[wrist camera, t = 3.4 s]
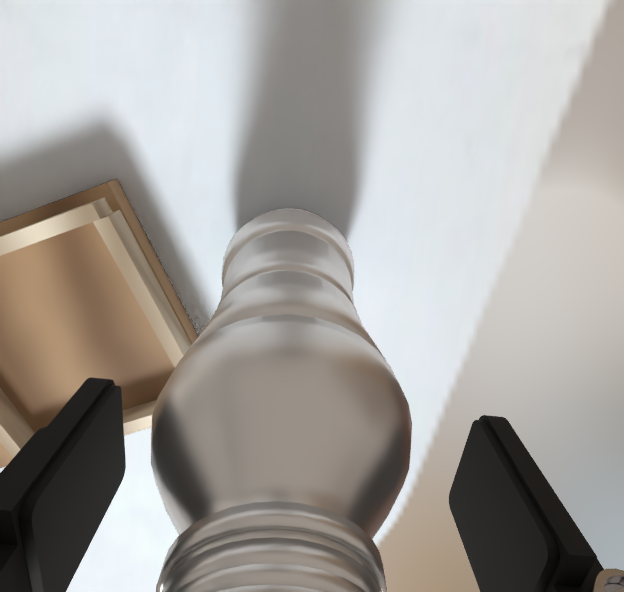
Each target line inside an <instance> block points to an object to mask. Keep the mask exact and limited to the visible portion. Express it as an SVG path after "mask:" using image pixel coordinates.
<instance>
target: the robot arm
mask: <svg viewBox="0 0 624 592" xmlns="http://www.w3.org/2000/svg"><path fill="white" fill-rule="evenodd" d="M124 473H125V446H124V428H123V410H122V392H121V387H120V386H116V385H115V383H114V380H112V379H103V378H93V377H90V378H88V379H87V380H86V381H85V382H84V383H83V384H82V385H81V387H80V388H79V389H78V390H77V391H76V393H75V394H74V395H73V396H72V397H71V398H70V400H69V401H68V402H67V403H66V404H65V406H64V407H63V408H62V409H61V410H60V412H59V413H58V414H57V415H56V416H55V418H54V419H53V420H52V421H51V422H50V424H49V425H48V426H47V427H42V428H40V429H39V430H38V431H37V432H36V433H34V435H33V436H32V437H31V438H30V439H29V440H28V442H27V443H26V444H25V445H24V446H23V447H22V449H21V450H20V451H19V452H18V453H17V454H16V456H15V457H14V458H13V459H12V460H11V461H10V463H9V464H8V465H7V466H6V467H5V468H4V470H3V471H2V472H1V473H0V592H66V590H67V588H68V586H69V584H70V582H71V580H72V578H73V576H74V574H75V572H76V570H77V568H78V566H79V564H80V562H81V560H82V559H83V557H84V555H85V553H86V551H87V549H88V547H89V545H90V543H91V541H92V539H93V537H94V535H95V533H96V531H97V529H98V527H99V525H100V523H101V521H102V519H103V517H104V515H105V513H106V511H107V509H108V507H109V505H110V503H111V501H112V499H113V497H114V495H115V494H116V492H117V490H118V488H119V486H120V484H121V482H122V479H123V477H124ZM449 505H450V509H451V512H452V515H453V517H454V520H455V523H456V526H457V528H458V531H459V534H460V537H461V539H462V542H463V545H464V548H465V550H466V553H467V556H468V559H469V561H470V564H471V567H472V570H473V572H474V575H475V578H476V580H477V583H478V586H479V589H480V592H624V571H623V570H619V569H605V570H604V569H603V567H602V566H601V564H600V563H599V561H598V559H597V556H596V554H595V553H594V552H593V550H592V548H591V547H590V545H589V544H588V542H587V541H586V539H585V538H584V536H583V535H582V533H581V532H580V530H579V529H578V527H577V526H576V524H575V522H574V521H573V520H572V518H571V516H570V515H569V513H568V512H567V510H566V509H565V507H564V506H563V504H562V503H561V501H560V500H559V498H558V497H557V495H556V494H555V492H554V490H553V489H552V487H551V486H550V484H549V483H548V481H547V480H546V478H545V477H544V475H543V474H542V472H541V471H540V469H539V468H538V466H537V465H536V463H535V462H534V460H533V458H532V457H531V456H530V454H529V452H528V451H527V449H526V448H525V447H524V445H523V443H522V442H521V440H520V439H519V437H518V436H517V434H516V433H515V431H514V429H513V428H512V426H511V425H510V423H509V422H508V420H506V418H503V417H496V416H485V415H484V416H481V417H480V418H479V420H475V421H474V422H473V424H472V427H471V430H470V433H469V436H468V439H467V442H466V445H465V448H464V451H463V454H462V457H461V460H460V463H459V466H458V469H457V472H456V475H455V478H454V482H453V484H452V487H451V490H450V494H449Z"/></svg>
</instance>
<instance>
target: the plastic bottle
mask: <svg viewBox="0 0 624 592" xmlns="http://www.w3.org/2000/svg"><path fill="white" fill-rule="evenodd" d="M222 285H223V291H222V296H221V301H220V303H219V305H218V308H217V310H216V311H215V313H214V315H213V317H212V319H211V321H210V323H209V324H208V325H207V327H206V328H205V329H204V330H203V332H202V333H201V334H200V336H199V337H198V338H197V339H196V341H195V342H194V343H193V345H192V346H191V347H190V348H189V350H188V351H187V352H186V354H185V355H184V356H183V357H182V358H181V359H180V361H179V363H178V364H177V366H176V368H175V369H174V371H173V373H172V374H171V376H170V378H169V379H168V381H167V383H166V385H165V386H164V388H163V389H162V391H161V393H160V394H159V396H158V399H157V402H156V405H155V408H154V412H153V415H152V432H151V465H152V469H153V474H154V478H155V482H156V485H157V487H158V490H159V493H160V495H161V498H162V501H163V504H164V506H165V509H166V512H167V513H168V515H169V517H170V519H171V521H172V523H173V525H174V527H175V528H176V530H177V532H178V534H179V536H178V538H177V539H176V540H175V542H174V543H173V544H172V546H171V547H170V548H169V550H168V553H167V556H166V558H165V561H164V564H163V567H162V570H161V573H160V577H159V580H158V583H157V586H156V592H386V591H387V587H386V581H385V575H384V569H383V563H382V560H381V556H380V552H379V550H378V548H377V547H376V545H375V543H374V542H373V540H372V539H373V537H374V536H375V534H376V533H377V532H378V530H379V529H380V527H381V526H382V524H383V523H384V521H385V519H386V518H387V516H388V515H389V513H390V511H391V509H392V507H393V505H394V503H395V501H396V499H397V497H398V495H399V493H400V491H401V489H402V487H403V485H404V482H405V479H406V476H407V473H408V470H409V463H410V450H411V432H412V420H411V415H410V410H409V404H408V402H407V400H406V397H405V395H404V393H403V391H402V389H401V387H400V385H399V383H398V381H397V379H396V377H395V375H394V373H393V371H392V369H391V367H390V365H389V364H388V363H387V362H386V360H385V358H384V357H383V355H382V354H381V352H380V351H379V349H378V348H377V346H376V345H375V343H374V342H373V340H372V339H371V337H370V336H369V334H368V333H367V331H366V330H365V328H364V327H363V325H362V323H361V320H360V318H359V316H358V314H357V311H356V309H355V307H354V302H353V292H352V291H353V287H354V261H353V256H352V252H351V250H350V247H349V245H348V243H347V241H346V240H345V238H344V237H343V236H342V234H341V233H340V231H339V230H337V229H336V228H335V227H334V226H333V225H332V224H331V223H329V222H328V221H326V220H325V219H323V218H321V217H320V216H318V215H316V214H314V213H311V212H308V211H306V210H301V209H294V208H285V209H277V210H272V211H268V212H266V213H264V214H262V215H259V216H257V217H255V218H254V219H252V220H251V221H249V222H248V223H247V224H245V225H244V226H242V227H241V229H240V230H239V231H238V232H237V233H236V234H235V235H234V236H233V238H232V240H231V241H230V243H229V245H228V246H227V249H226V252H225V255H224V259H223V269H222Z"/></svg>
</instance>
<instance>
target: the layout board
mask: <svg viewBox="0 0 624 592" xmlns="http://www.w3.org/2000/svg"><path fill="white" fill-rule="evenodd" d="M197 338H198V335H197V333H196V331H195V329H194V327H193V325H192V323H191V321H190V319H189V317H188V315H187V313H186V311H185V309H184V307H183V306H182V304H181V302H180V300H179V298H178V296H177V294H176V292H175V290H174V288H173V286H172V284H171V282H170V280H169V278H168V276H167V274H166V273H165V271H164V269H163V267H162V265H161V263H160V261H159V259H158V257H157V255H156V253H155V251H154V249H153V247H152V245H151V243H150V242H149V240H148V238H147V236H146V234H145V232H144V230H143V228H142V226H141V224H140V222H139V220H138V218H137V216H136V214H135V212H134V210H133V209H132V207H131V205H130V203H129V201H128V199H127V197H126V195H125V193H124V191H123V189H122V187H121V185H120V183H119V181H118V179H115V180H112V181H109V182H107V183H104V184H101V185H99V186H96V187H93V188H91V189H88V190H85V191H83V192H80V193H77V194H75V195H72V196H69V197H67V198H64V199H61V200H59V201H56V202H53V203H51V204H48V205H45V206H43V207H40V208H37V209H35V210H32V211H29V212H27V213H24V214H21V215H19V216H16V217H13V218H11V219H8V220H5V221H3V222H0V468H2V467H5V466H7V465H8V464H9V463H10V461H11V460H12V459H13V458H14V457H15V456H16V454H17V453H18V452H19V451H20V450H21V449H22V447H23V446H24V445H25V444H26V443H27V442H28V440H29V439H30V438H31V437H32V436H33V435H34V433H36V432H37V431H38V430H39V429H40V428H42V427H47V426H48V425H49V424H50V422H51V421H52V420H53V419H54V418H55V416H56V415H57V414H58V413H59V412H60V410H61V409H62V408H63V407H64V406H65V404H66V403H67V402H68V401H69V400H70V398H71V397H72V396H73V395H74V394H75V393H76V391H77V390H78V389H79V388H80V387H81V385H82V384H83V383H84V382H85V381H86V380H87V379H88V378H90V377H93V378H103V379H112V380H114V383H115V385H116V386H120V387H121V392H122V410H123V428H124V435H127V434H131V433H134V432H137V431H141V430H144V429H147V428H150V427H152V415H153V412H154V408H155V405H156V402H157V399H158V396H159V394H160V393H161V391H162V389H163V388H164V386H165V385H166V383H167V381H168V379H169V378H170V376H171V374H172V373H173V371H174V369H175V368H176V366H177V364H178V363H179V361H180V359H181V358H182V357H183V356H184V355H185V354H186V352H187V351H188V350H189V348H190V347H191V346H192V345H193V343H194V342H195V341H196V339H197Z"/></svg>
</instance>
